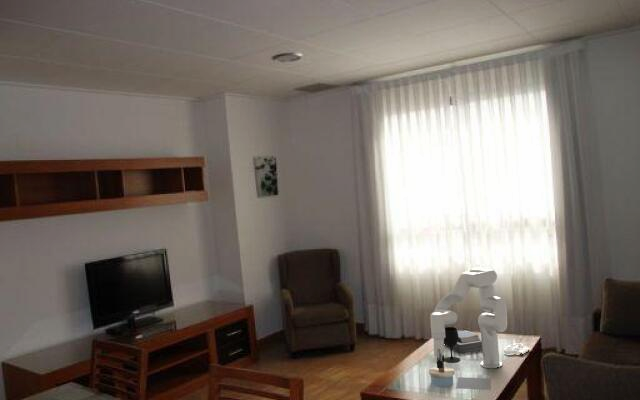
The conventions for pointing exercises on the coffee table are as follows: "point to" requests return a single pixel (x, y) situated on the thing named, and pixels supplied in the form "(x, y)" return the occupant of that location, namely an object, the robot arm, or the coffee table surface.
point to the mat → (474, 383)
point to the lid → (441, 372)
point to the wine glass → (451, 342)
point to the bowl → (442, 381)
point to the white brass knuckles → (516, 348)
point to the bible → (467, 342)
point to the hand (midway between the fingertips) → (440, 364)
